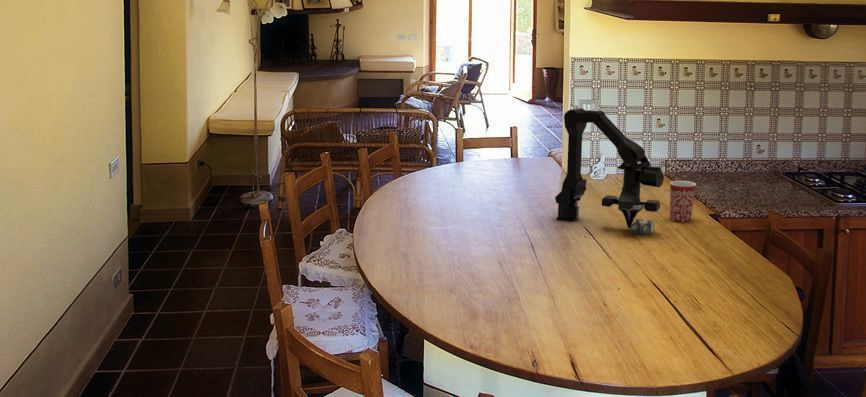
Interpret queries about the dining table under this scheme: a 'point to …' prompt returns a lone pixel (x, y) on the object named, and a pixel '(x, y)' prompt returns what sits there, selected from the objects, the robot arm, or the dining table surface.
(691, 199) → the mug
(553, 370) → the dining table surface
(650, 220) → the block with round pegs
